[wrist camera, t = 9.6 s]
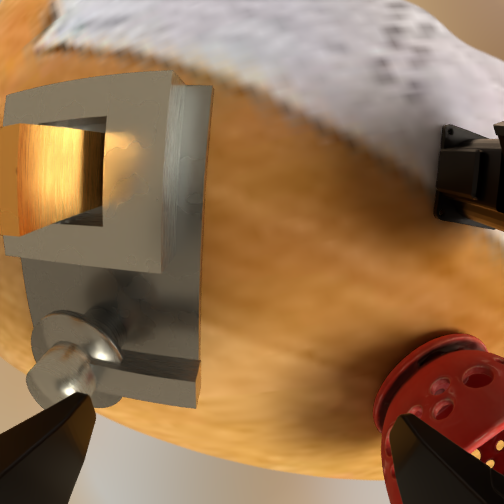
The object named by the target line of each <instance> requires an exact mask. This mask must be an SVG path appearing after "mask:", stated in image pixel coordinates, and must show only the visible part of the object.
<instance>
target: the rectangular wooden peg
mask: <svg viewBox="0 0 504 504" xmlns="http://www.w3.org/2000/svg"><path fill="white" fill-rule="evenodd" d="M104 146H105V133H101V132H94V131H87V130H79V129H71V128H63V127H54V126H45V125H34V124H22V123H19V124H14V125H9V126H4V127H0V235H6V236H18V237H20V236H23V235H25V234H28V233H30V232H32V231H35V230H37V229H40V228H43V227H45V226H48V225H50V224H53V223H55V222H58V221H61V220H63V219H66V218H69V217H71V216H74V215H77V214H80V213H83V212H85V211H88V210H91V209H94V208H97V207H100V206H103V164H104Z"/></svg>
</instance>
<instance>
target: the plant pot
mask: <svg viewBox="0 0 504 504" xmlns="http://www.w3.org/2000/svg"><path fill="white" fill-rule="evenodd" d="M406 413H412V414H414V415H415V416H417V417H418V418H420V419H421V420H422V421H424V422H425V423H427V424H428V425H430V426H431V427H432V428H434V429H435V430H437V431H438V432H440V433H441V434H442V435H444V436H445V437H447V438H448V439H450V440H451V441H452V442H454V443H455V444H457V445H458V446H460V447H461V448H463V449H464V450H466V451H467V452H469V453H472V452H473V451H474V450H476V449H478V450H479V451H480V454H481V458H480V461H482V462H483V463H485V464H486V462H487V461H489V460H494V462H495V464H494V466H493V469H494V470H496V471H497V472H499V473H500V474H502V475H504V447H503V449H502V450H500V451H498V450H497V449H496V445H497V443H498V441H500V440H502V441H504V358H503V357H500V356H498V355H495V354H492V353H489V352H488V350H487V348H486V346H485V345H484V344H483V342H482V341H480V340H479V339H478V338H476V337H474V336H472V335H468V334H450V335H445V336H442V337H439V338H436V339H433V340H431V341H429V342H427V343H425V344H423V345H422V346H420V347H418V348H417V349H415V350H414V351H412V352H411V353H410V354H409V355H407V356H406V357H405V358H404V359H403V360H402V361H401V362H400V363H399V364H398V365H397V366H396V367H395V368H394V369H393V370H392V371H391V372H390V374H389V375H388V376H387V378H386V379H385V381H384V382H383V384H382V386H381V387H380V389H379V391H378V393H377V396H376V398H375V402H374V407H373V418H374V422H375V425H376V427H377V429H378V430H379V432H380V433H381V434H382V440H381V457H382V467H383V474H384V479H385V484H386V488H387V492H388V496H389V499H390V503H391V504H403V503H402V499H401V495H400V492H399V488H398V485H397V481H396V476H395V471H394V464H393V458H392V452H391V447H390V441H389V434H390V431H391V429H392V427H393V425H394V423H395V421H396V419H397V417H398V416H399V415H400V414H406Z"/></svg>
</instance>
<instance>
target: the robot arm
mask: <svg viewBox="0 0 504 504" xmlns="http://www.w3.org/2000/svg"><path fill="white" fill-rule="evenodd" d="M493 126H494V130H495V133H496V135H498V138H499V139H488V138H486V137H483V136H481V135H478V134H476V133H473V132H470V131H468V130H465V129H462V128H459V127H457V126H454V125H450V124H448V125H444V126H443V128H442V138H441V151H440V154H439V165H438V175H437V184H436V188H437V191H436V198H435V205H434V216H435V217H436V218H437V219H440V220H444V221H449V222H455V223H461V224H466V225H472V226H477V227H482V228H488V229H493V230H495V229H498V230H500V231H503V232H504V121H502V122H499V123H496V124H494V125H493ZM448 129H449V130H450V135H449V133H448ZM441 209H442V214H441V215H440V214H439V212H440V210H441ZM95 421H96V413H95V410H94V407H93V403H92V400H91V397H90V396H89V395H88V394H85V393H81V392H75V393H73V394H71V395H70V396H68V397H66V398H65V399H63V400H61V401H59V402H57V403H56V404H54V405H52V406H50V407H49V408H47V409H45V410H43V411H41V412H40V413H38V414H36V415H34V416H33V417H31V418H29V419H27V420H25V421H24V422H22V423H20V424H18V425H16V426H14V427H13V428H11V429H9V430H7V431H5V432H3V433H2V434H0V504H68V502H69V499H70V496H71V494H72V491H73V488H74V486H75V483H76V481H77V478H78V475H79V473H80V470H81V468H82V465H83V463H84V460H85V456H86V453H87V449H88V445H89V442H90V438H91V435H92V431H93V428H94V424H95ZM389 441H390V447H391V452H392V458H393V464H394V471H395V476H396V481H397V485H398V488H399V492H400V495H401V499H402V503H403V504H504V475H502V474H500V473H499V472H497V471H496V470H494V469H493V468H490V467H489V466H488V465H486V464H485V463H483V462H482V461H480V460H479V459H477V458H476V457H474V456H473V455H472V454H470V453H469V452H467V451H466V450H464V449H463V448H461V447H460V446H458V445H457V444H455V443H454V442H452V441H451V440H450V439H448V438H447V437H445V436H444V435H442V434H441V433H440V432H438V431H437V430H435V429H434V428H432V427H431V426H430V425H428V424H427V423H425V422H424V421H422V420H421V419H420V418H418V417H417V416H415V415H414V414H412V413H406V414H400V415H399V416H398V417H397V419H396V421H395V423H394V425H393V427H392V429H391V431H390V434H389Z"/></svg>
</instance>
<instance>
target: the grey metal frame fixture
mask: <svg viewBox="0 0 504 504" xmlns="http://www.w3.org/2000/svg"><path fill="white" fill-rule="evenodd" d="M213 94H214V88H213V86H202V85H185V84H184V82H183V81H182V80H181V79H180V78H179V77H178V76H177V75H176V74H175V72H174V71H173V70H170V71H149V72H135V73H124V74H114V75H105V76H98V77H90V78H84V79H77V80H72V81H66V82H61V83H55V84H51V85H46V86H41V87H37V88H33V89H28V90H24V91H20V92H17V93H13V94H9V95H7V96H6V103H5V111H4V120H3V127H4V126H9V125H14V124H19V123H22V124H34V125H45V126H54V127H63V128H71V129H79V130H87V131H94V132H101V133H105V146H104V164H103V206H100V207H97V208H94V209H91V210H88V211H85V212H83V213H80V214H77V215H74V216H71V217H69V218H66V219H63V220H61V221H58V222H55V223H53V224H50V225H48V226H45V227H43V228H40V229H37V230H35V231H32V232H30V233H28V234H25V235H23V236H20V237H18V236H6V235H3V238H4V247H5V255H7V256H14V257H21V262H22V269H23V276H24V282H25V288H26V293H27V299H28V304H29V309H30V313H31V318H32V322H33V327H34V329H33V332H32V336H31V346H32V352H33V355H34V358H35V361H36V364H35V365H34V367H33V368H32V369H31V370H30V371H29V372H28V374H27V376H26V383H27V386H28V389H29V391H30V393H31V394H32V396H33V397H34V399H35V400H36V402H37V403H38V404H39V405H40V406H41V407H42V408H44V409H47V408H49V407H50V406H52V405H54V404H56V403H57V402H59V401H61V400H63V399H65V398H66V397H68V396H70V395H71V394H73V393H75V392H81V393H85V394H88V395H89V396H90V397H91V400H92V403H93V407H94V408H105V407H110V406H112V405H114V404H116V403H117V402H118V401H120V399H121V398H122V397H127V398H132V399H137V400H142V401H148V402H154V403H159V404H166V405H172V406H179V407H186V408H194V409H196V407H197V402H198V398H199V393H200V388H201V360H200V321H201V277H202V249H203V227H204V208H205V191H206V176H207V162H208V149H209V137H210V125H211V114H212V104H213Z"/></svg>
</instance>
